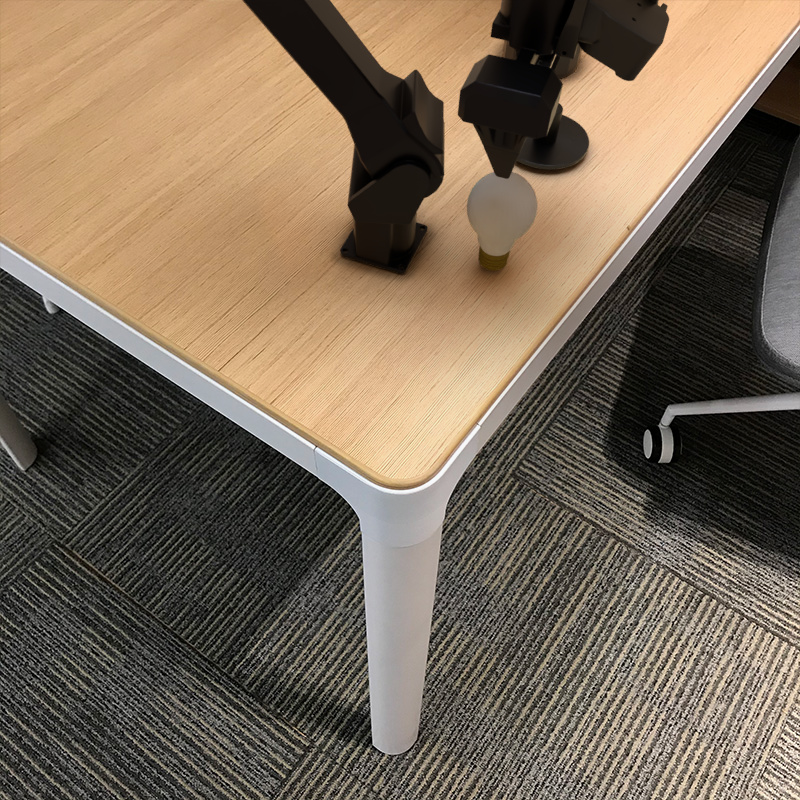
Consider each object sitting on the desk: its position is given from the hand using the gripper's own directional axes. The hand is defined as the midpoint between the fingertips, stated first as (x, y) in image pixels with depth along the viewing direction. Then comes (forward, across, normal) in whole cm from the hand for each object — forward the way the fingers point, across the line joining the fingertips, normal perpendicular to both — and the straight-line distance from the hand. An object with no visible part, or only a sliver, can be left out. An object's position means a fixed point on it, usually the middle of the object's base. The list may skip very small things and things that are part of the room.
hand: (517, 142), depth 62 cm
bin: (+12, +32, +4) cm, 35 cm away
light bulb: (+12, -2, 0) cm, 12 cm away
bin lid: (+11, +16, 0) cm, 20 cm away
